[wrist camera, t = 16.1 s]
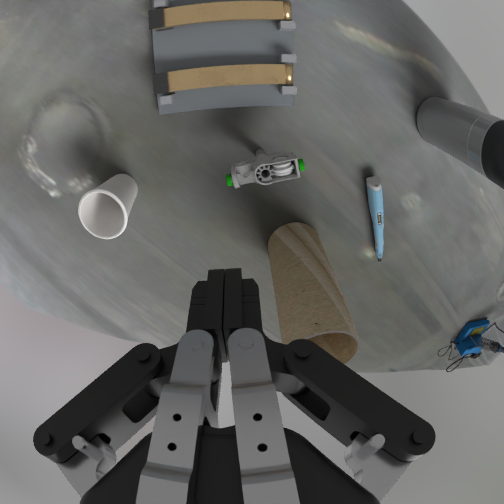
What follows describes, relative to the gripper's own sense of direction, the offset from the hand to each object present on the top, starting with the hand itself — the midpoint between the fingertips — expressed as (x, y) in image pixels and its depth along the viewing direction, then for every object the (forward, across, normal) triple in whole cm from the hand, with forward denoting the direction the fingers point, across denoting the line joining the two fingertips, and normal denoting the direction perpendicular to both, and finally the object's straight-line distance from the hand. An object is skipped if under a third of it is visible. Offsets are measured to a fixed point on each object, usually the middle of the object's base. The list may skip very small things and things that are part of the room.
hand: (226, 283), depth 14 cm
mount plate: (+35, +1, -14) cm, 38 cm away
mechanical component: (+35, -4, +4) cm, 36 cm away
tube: (+35, -10, +22) cm, 43 cm away
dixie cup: (+35, +20, +8) cm, 41 cm away
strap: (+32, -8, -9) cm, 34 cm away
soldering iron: (+36, -84, +76) cm, 119 cm away
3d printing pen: (+39, -28, +22) cm, 52 cm away
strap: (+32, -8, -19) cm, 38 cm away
